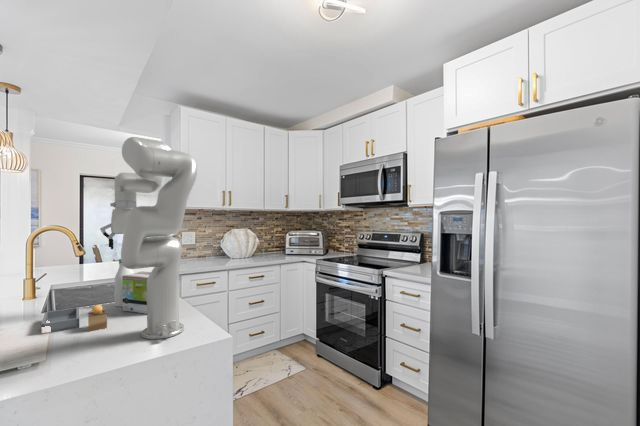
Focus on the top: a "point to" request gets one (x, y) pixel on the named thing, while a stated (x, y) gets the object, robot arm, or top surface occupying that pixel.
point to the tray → (61, 319)
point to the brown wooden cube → (97, 321)
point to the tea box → (135, 292)
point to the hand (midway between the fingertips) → (126, 248)
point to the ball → (97, 309)
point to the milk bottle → (120, 283)
